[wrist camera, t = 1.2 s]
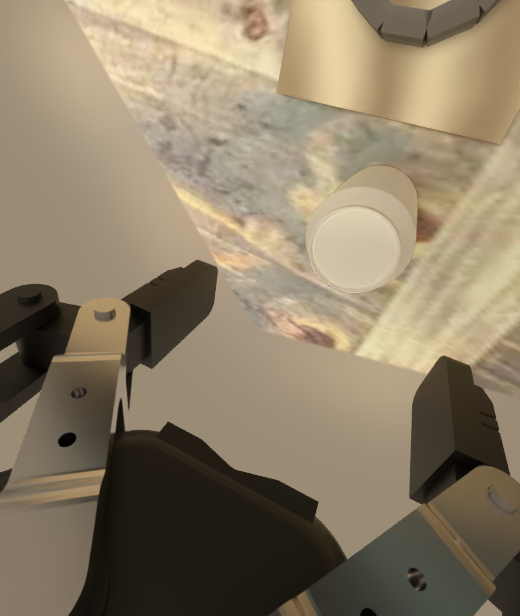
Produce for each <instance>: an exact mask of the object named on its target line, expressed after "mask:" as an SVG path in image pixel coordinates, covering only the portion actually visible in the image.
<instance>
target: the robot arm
mask: <svg viewBox="0 0 520 616" xmlns="http://www.w3.org/2000/svg"><path fill="white" fill-rule="evenodd" d="M217 274H218V270H217V267H215V266H213V265H210V264H208V263H205V262H203V261H200V260H196V261H194V262H193V263H191V264H189V265H188V266H186V267H185V268H182V267H179V268H176V269H172V270H168V271H166V272H164V273H163V274H161V275H160V276H158V278H155V279H153V280H152V281H150V283H147V284H145V285H143V286H142V287H140V288H139V289H137V290H136V291H134V292H133V293H131V294H129V295H127V296H126V297H124V298H123V299H121V300H120V299H116V298H98V299H95V300H92V301H89V302H87V303H85V304H84V305H83V306H77V305H71V304H66V303H61V302H59V298H58V293H57V291H56V290H55V289H54V288H53V287H51V286H48V285H43V284H28V285H22V286H19V287H15V288H13V289H10V290H9V291H6V292H4V293H2V294H0V351H1V350H3V349H4V348H6V347H8V346H9V345H11V344H12V343H14V342H16V345H17V348H18V351H19V352H17V353H16V354H14V355H13V356H11V357H10V358H9V359H7V360H5V361H4V362H2V363H0V422H2V421H3V420H4V419H6V418H7V417H8V416H9V415H11V414H12V413H13V412H14V411H16V410H17V409H18V408H19V407H21V406H22V405H23V404H24V403H26V402H27V401H28V400H29V399H31V398H32V397H33V396H34V395H36V394H37V393H38V392H40V391H41V392H40V395H39V397H38V400H37V403H36V406H35V409H34V411H33V414H32V417H31V419H30V422H29V425H28V428H27V430H26V433H25V436H24V439H23V442H22V444H21V447H20V450H19V453H18V455H17V458H16V461H15V464H14V466H13V468H12V469H9V470H6V471H3V472H0V616H474V615H475V614H476V612H477V611H478V610H479V609H480V608H481V606H482V605H483V604H484V603H485V602H486V601H487V600H489V601H490V602H492V604H494V605H495V606H496V607H497V608H498V609H499V610H500V611H501V612H502V616H520V484H519V483H518V482H517V481H516V480H515V479H513V478H512V477H511V476H510V473H509V469H508V464H507V460H506V456H505V453H504V448H503V444H502V440H501V436H500V433H499V432H498V431H499V427H498V423H497V421H496V420H495V419H496V415H495V411H494V407H493V403H492V402H491V400H490V399H489V397H488V396H487V394H486V393H485V391H484V390H483V388H481V387H479V386H476V385H474V382H473V376H472V371H471V367H470V366H469V365H467V364H465V363H462V362H460V361H457V360H454V359H452V358H449V357H447V356H441V357H440V358H439V359H438V361H437V362H436V363H435V365H434V366H433V368H432V369H431V371H430V372H429V373H428V375H427V376H426V378H425V379H424V381H423V382H422V384H421V385H420V386H419V388H418V390H417V392H416V394H415V397H414V400H413V404H412V431H411V461H410V492H409V493H410V494H409V495H410V496H409V498H410V499H412V500H414V501H416V502H418V503H420V504H422V505H421V506H419V507H418V508H417V509H415V510H414V511H412V512H411V513H410V514H408V515H407V516H406V517H404V518H403V519H402V520H400V521H399V522H398V523H396V524H395V525H393V526H392V527H391V528H389V529H388V530H387V531H385V532H384V533H383V534H381V535H380V536H379V537H377V538H376V539H374V540H373V541H372V542H370V543H369V544H368V545H366V546H365V547H364V548H362V549H361V550H360V551H358V552H357V553H355V554H354V555H353V556H351V557H350V558H349V559H347V558H346V556H345V554H344V552H343V551H342V549H341V547H340V545H339V544H338V542H337V541H336V539H335V538H334V536H333V535H332V534H331V532H330V531H329V530H328V529H327V528H326V527H325V525H324V524H323V523H322V522H321V521H320V520H319V519H318V518H317V517H316V516H315V514H316V510H317V506H318V501H316V500H314V499H312V498H310V497H308V496H306V495H304V494H303V493H301V492H299V491H297V490H295V489H293V488H291V487H290V486H288V485H285V484H284V483H282V482H280V481H278V480H275V479H270V478H266V477H262V476H258V475H254V474H250V473H246V472H242V471H238V470H235V469H233V468H232V467H230V466H229V465H228V464H227V463H226V462H225V461H224V460H223V459H222V458H221V457H220V456H219V455H218V454H217V453H216V452H215V451H213V450H212V449H211V448H210V447H209V446H208V445H207V444H206V443H205V442H204V441H203V440H201V439H200V438H198V437H196V436H194V435H192V434H190V433H189V432H187V431H185V430H183V429H181V428H179V427H177V426H175V425H174V424H172V423H170V422H167V424H166V425H165V426H164V427H163V428H162V430H161V431H160V432H157V431H151V430H132V431H130V418H131V407H132V395H133V382H134V368H135V367H136V366H138V365H139V364H140V363H141V364H143V365H145V366H147V367H149V368H151V369H152V368H153V367H154V366H156V365H157V364H158V363H159V362H160V361H161V360H162V359H163V358H164V357H165V356H166V355H167V354H168V353H169V352H170V351H171V350H172V349H173V348H174V347H175V346H177V345H178V344H179V343H180V342H181V341H182V340H183V339H184V338H185V337H186V336H187V335H188V334H189V333H190V332H191V331H192V330H194V328H196V327H197V326H198V324H200V323H201V322H202V321H203V320H204V319H205V318H206V317H207V316H208V315H209V313H210V312H211V310H212V307H213V305H214V298H215V291H216V282H217Z"/></svg>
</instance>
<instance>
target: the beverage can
mask: <svg viewBox="0 0 520 616" xmlns="http://www.w3.org/2000/svg"><path fill="white" fill-rule="evenodd" d="M417 209H418V200H417V193H416V190H415V187H414V185H413V183H412V181H411V180H410V179H409V178H408V177H407V176H406V175H405V174H404V173H403V172H401V171H400V170H398V169H396V168H393V167H389V166H372V167H368V168H365V169H363V170H361V171H359V172H357V173H356V174H354V175H353V176H351V177H350V178H349V179H348V180H347V181H346V182H344V183H343V184H342V185H341V186H340V187H339V188H337V189H336V190H335V191H334V192H333V193H332V194H331V195H330V196H328V197H327V198H326V199H325V200H324V201H323V202H322V203H321V204H320V205H319V206H318V207H317V208H316V210H315V211H314V213H313V214H312V216H311V218H310V221H309V223H308V226H307V231H306V248H307V252H308V255H309V260H310V263H311V266H312V268H313V270H314V271H315V273H316V274H317V276H318V277H319V278H320V279H321V280H322V281H323V282H324V283H326V284H327V285H328V286H330V287H332V288H334V289H336V290H339V291H342V292H347V293H363V292H367V291H371V290H373V289H376V288H378V287H381V286H383V285H385V284H387V283H389V282H391V281H392V280H394V279H395V278H396V277H398V276H399V275H400V274H401V273H402V272H403V271H404V269H405V268H406V267H407V265H408V264H409V262H410V260H411V258H412V255H413V253H414V249H415V244H416V229H417Z"/></svg>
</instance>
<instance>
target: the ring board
mask: <svg viewBox="0 0 520 616" xmlns="http://www.w3.org/2000/svg"><path fill="white" fill-rule="evenodd" d="M277 93H279V94H283V95H288V96H292V97H296V98H301V99H305V100H309V101H314V102H318V103H322V104H327V105H331V106H335V107H340V108H344V109H348V110H353V111H357V112H361V113H366V114H370V115H375V116H379V117H383V118H388V119H392V120H396V121H401V122H405V123H409V124H414V125H418V126H422V127H427V128H431V129H435V130H440V131H444V132H448V133H453V134H457V135H462V136H466V137H470V138H475V139H479V140H483V141H488V142H492V143H496V144H501V142H502V140H503V138H504V136H505V135H506V133H507V131H508V129H509V127H510V126H511V124H512V122H513V120H514V118H515V116H516V115H517V113H518V111H519V109H520V0H293V2H292V8H291V13H290V19H289V25H288V31H287V36H286V42H285V48H284V54H283V59H282V65H281V71H280V77H279V82H278V88H277Z"/></svg>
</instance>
